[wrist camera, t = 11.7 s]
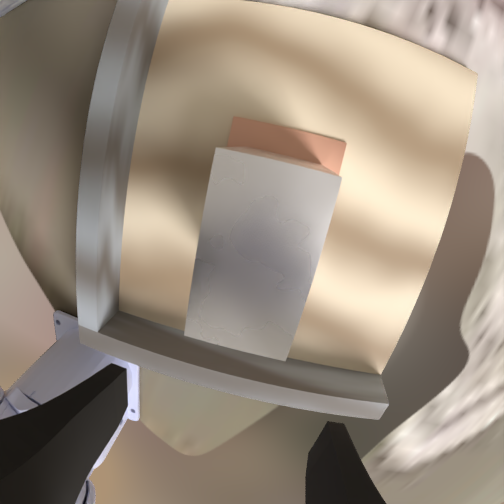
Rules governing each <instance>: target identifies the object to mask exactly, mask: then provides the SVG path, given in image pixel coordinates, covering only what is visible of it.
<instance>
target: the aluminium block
mask: <svg viewBox="0 0 504 504" xmlns="http://www.w3.org/2000/svg"><path fill="white" fill-rule="evenodd" d="M341 181H342V177H341V176H339V175H338V174H336V173H335V172H333V171H331V170H330V169H328V168H327V167H325V166H323V165H321V164H317V163H314V162H310V161H306V160H302V159H298V158H294V157H290V156H286V155H282V154H277V153H273V152H269V151H264V150H260V149H255V148H251V147H216V149H215V154H214V159H213V164H212V169H211V174H210V179H209V184H208V189H207V195H206V200H205V205H204V211H203V216H202V222H201V228H200V233H199V239H198V245H197V251H196V257H195V263H194V270H193V276H192V283H191V289H190V296H189V303H188V310H187V317H186V324H185V331H184V336H188V337H191V338H195V339H198V340H202V341H205V342H209V343H213V344H216V345H220V346H224V347H228V348H231V349H235V350H239V351H243V352H247V353H251V354H256V355H260V356H264V357H268V358H273V359H277V360H281V361H286V359H287V356H288V353H289V350H290V348H291V345H292V342H293V339H294V336H295V333H296V330H297V327H298V324H299V321H300V318H301V315H302V312H303V309H304V306H305V303H306V300H307V297H308V294H309V291H310V288H311V285H312V281H313V278H314V275H315V272H316V269H317V265H318V262H319V259H320V255H321V252H322V249H323V245H324V242H325V239H326V235H327V232H328V228H329V225H330V221H331V218H332V214H333V210H334V207H335V203H336V200H337V196H338V192H339V188H340V185H341Z"/></svg>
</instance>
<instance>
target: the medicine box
mask: <svg viewBox="0 0 504 504" xmlns="http://www.w3.org/2000/svg"><path fill="white" fill-rule="evenodd" d="M25 1H27V0H0V17H2V16H3V15H5V14H6V13H8V12H9V11H11V10H12V9H14V8H16V7H17V6H19V5H20V4H22V3H24V2H25Z"/></svg>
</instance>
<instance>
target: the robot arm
mask: <svg viewBox="0 0 504 504" xmlns="http://www.w3.org/2000/svg"><path fill="white" fill-rule="evenodd" d="M53 316H54V325H55V332H56V340H57V341H56V342H55V343H54V344H53V345H52V346H51V347H50V348H49V349H48V350H47V351H46V352H45V353H44V354H43V355H42V356H41V357H40V358H39V359H38V360H37V361H36V362H35V363H34V364H33V365H32V366H31V367H30V368H29V369H28V370H27V371H26V372H25V373H24V374H23V375H22V376H21V377H20V378H19V379H18V380H17V381H16V382H15V383H14V384H13V385H12V386H11V387H10V388H9V389H8V390H6V391H3V389H2V388H1V387H0V504H95V496H96V495H95V487H94V485H93V483H92V482H91V481H90V480H89V477H90V475H91V473H92V472H93V470H94V469H95V468H96V467H98V466H99V465H100V464H101V463H102V462H103V461H104V459H105V457H106V456H107V454H108V452H109V450H110V448H111V446H112V445H113V443H114V441H115V439H116V438H117V436H118V434H119V433H120V431H121V429H122V427H123V425H124V423H125V422H126V420H127V418H128V419H130V420H133V421H138V420H139V417H140V411H139V366H138V365H135V364H132V363H129V362H127V361H124V360H121V359H118V358H116V357H113V356H111V355H108V354H106V353H103V352H101V351H98V350H96V349H93V348H91V347H88V346H86V345H84V344H81V343H80V338H79V326H78V318H76V317H74V316H72V315H69V314H67V313H64V312H62V311H60V310H57V311H55V312H54V315H53ZM59 321H60V322H59ZM306 504H386V503H385V501H384V500H383V498H382V497H381V495H380V493H379V492H378V490H377V488H376V487H375V485H374V483H373V482H372V480H371V478H370V476H369V474H368V473H367V471H366V469H365V467H364V465H363V463H362V461H361V459H360V457H359V455H358V453H357V451H356V449H355V447H354V444H353V442H352V440H351V438H350V435H349V433H348V431H347V429H346V427H345V425H344V424H343V423H335V422H329V421H328V422H327V423H326V425H325V427H324V428H323V430H322V432H321V434H320V435H319V437H318V439H317V440H316V442H315V443H314V445H313V447H312V448H311V450H310V451H309V453H308V461H307V469H306Z"/></svg>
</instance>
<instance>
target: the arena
mask: <svg viewBox="0 0 504 504" xmlns="http://www.w3.org/2000/svg"><path fill="white" fill-rule="evenodd" d="M477 76H478V74H477V73H476V72H474V71H472V70H470V69H468V68H466V67H464V66H462V65H460V64H458V63H456V62H454V61H452V60H450V59H448V58H446V57H444V56H442V55H440V54H438V53H435V52H433V51H431V50H429V49H426V48H424V47H422V46H419V45H417V44H414V43H412V42H409V41H407V40H404V39H402V38H399V37H396V36H394V35H391V34H388V33H385V32H382V31H379V30H376V29H373V28H370V27H367V26H364V25H361V24H357V23H354V22H351V21H347V20H343V19H340V18H336V17H332V16H328V15H324V14H320V13H315V12H311V11H306V10H301V9H296V8H291V7H286V6H280V5H274V4H267V3H260V2H252V1H243V0H118V1H117V4H116V7H115V10H114V13H113V16H112V19H111V22H110V26H109V29H108V32H107V36H106V39H105V43H104V46H103V50H102V54H101V58H100V62H99V66H98V70H97V74H96V79H95V83H94V88H93V93H92V98H91V103H90V108H89V114H88V119H87V125H86V132H85V139H84V146H83V153H82V162H81V171H80V181H79V193H78V207H77V227H76V292H77V312H78V326H79V338H80V343H81V344H84V345H86V346H88V347H91V348H93V349H96V350H98V351H101V352H103V353H106V354H108V355H111V356H113V357H116V358H118V359H121V360H124V361H127V362H129V363H132V364H135V365H138V366H140V367H143V368H146V369H149V370H152V371H155V372H158V373H161V374H164V375H167V376H170V377H173V378H177V379H180V380H183V381H186V382H190V383H193V384H197V385H200V386H204V387H207V388H211V389H215V390H218V391H222V392H226V393H230V394H234V395H238V396H242V397H246V398H251V399H255V400H259V401H264V402H269V403H273V404H278V405H283V406H289V407H294V408H299V409H305V410H310V411H316V412H324V413H329V414H336V415H344V416H351V417H359V418H368V419H378V420H379V419H380V417H381V416H382V414H383V413H384V411H385V410H386V408H387V407H388V405H389V401H388V398H387V395H386V391H385V388H384V385H383V381H382V378H381V373H382V371H383V369H384V367H385V365H386V364H387V362H388V360H389V357H390V356H391V354H392V352H393V350H394V348H395V346H396V344H397V342H398V340H399V338H400V336H401V334H402V332H403V329H404V327H405V325H406V323H407V321H408V318H409V316H410V314H411V312H412V309H413V307H414V305H415V303H416V300H417V298H418V296H419V293H420V291H421V288H422V286H423V284H424V281H425V278H426V276H427V274H428V271H429V268H430V266H431V263H432V260H433V258H434V255H435V252H436V249H437V247H438V244H439V241H440V238H441V235H442V232H443V229H444V226H445V223H446V220H447V216H448V213H449V210H450V207H451V203H452V200H453V196H454V192H455V189H456V185H457V181H458V178H459V173H460V170H461V166H462V161H463V157H464V153H465V148H466V144H467V139H468V134H469V129H470V123H471V118H472V112H473V105H474V99H475V92H476V84H477ZM216 147H251V148H255V149H260V150H264V151H269V152H273V153H277V154H282V155H286V156H290V157H294V158H298V159H302V160H306V161H310V162H314V163H317V164H321V165H323V166H325V167H327V168H328V169H330V170H331V171H333V172H335V173H336V174H338V175H339V176H341V177H342V181H341V185H340V188H339V192H338V196H337V200H336V203H335V207H334V210H333V214H332V218H331V221H330V225H329V228H328V232H327V235H326V239H325V242H324V245H323V249H322V252H321V255H320V259H319V262H318V265H317V269H316V272H315V275H314V278H313V281H312V285H311V288H310V291H309V294H308V297H307V300H306V303H305V306H304V309H303V312H302V315H301V318H300V321H299V324H298V327H297V330H296V333H295V336H294V339H293V342H292V345H291V348H290V350H289V353H288V356H287V359H286V361H281V360H277V359H273V358H268V357H264V356H260V355H256V354H251V353H247V352H243V351H239V350H235V349H231V348H228V347H224V346H220V345H216V344H213V343H209V342H205V341H202V340H198V339H195V338H191V337H188V336H184V331H185V324H186V317H187V310H188V303H189V296H190V289H191V283H192V276H193V270H194V263H195V257H196V251H197V245H198V239H199V233H200V228H201V222H202V216H203V211H204V205H205V200H206V195H207V189H208V184H209V179H210V174H211V169H212V164H213V159H214V154H215V149H216Z"/></svg>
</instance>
